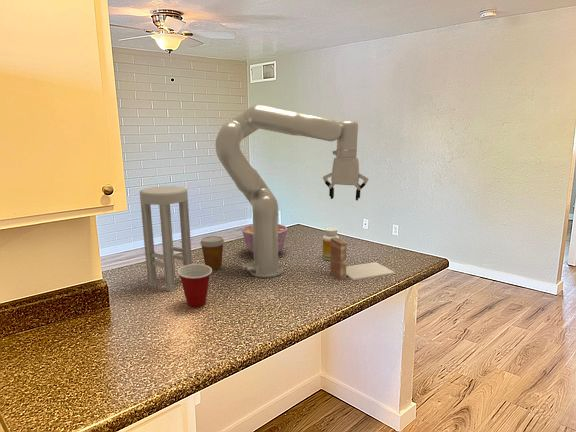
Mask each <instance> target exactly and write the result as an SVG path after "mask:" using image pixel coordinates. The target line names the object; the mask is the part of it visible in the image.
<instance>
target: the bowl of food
mask: <svg viewBox="0 0 576 432" xmlns="http://www.w3.org/2000/svg"><path fill="white" fill-rule="evenodd" d="M287 230H288V227H287V226H286V225H284V224H279V223H278V253H279V252H280V251H281V250H282V249H283V248H284V243H285V240H286V236H287ZM241 232H242V236H243V239H244V243H245V245H246V248H247V249H248V250H249V252H251V253H253V254H254V246H253V223H252V224H248V225H245V226H244V227H242V228H241Z"/></svg>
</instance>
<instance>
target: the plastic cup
mask: <svg viewBox="0 0 576 432" xmlns="http://www.w3.org/2000/svg"><path fill="white" fill-rule="evenodd" d="M212 273H213V270H212V268H211V267H209V266H207V265H205V264H201V263H192V264H190V265H185V266H183V265H182V266H181V267H179V268H178V270H177V274H178V276H179V278H180V282H181V284H182V289H183V293H184V297H185V300H186V303H187V307H189V308H201V307H204V306H205V305H206V302H207V296H208V290H209V282H210V277H211V274H212Z"/></svg>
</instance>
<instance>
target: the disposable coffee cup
mask: <svg viewBox="0 0 576 432" xmlns="http://www.w3.org/2000/svg"><path fill="white" fill-rule="evenodd" d="M199 244H200V247H201V249H202V256H203V260H204V265H207V266H209V267H211V268H212V271H215V270H219V269H220V270H221V268H222V265H223V263H222V262H223V252H224V244H225V240H224V237H222V236H219V235H211V236H205V237H202V238H201V240H200V242H199Z"/></svg>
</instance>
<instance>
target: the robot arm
mask: <svg viewBox="0 0 576 432" xmlns="http://www.w3.org/2000/svg"><path fill="white" fill-rule="evenodd" d="M259 129H260V130H265V131H269V132H274V133H280V134H285V135H290V136H297V137H307V138H312V139H317V140H321V141H327V142H336V149H335V150H332V155H334V156H335V157H334V158H333V163H332V169H331V172H330V173H328V174H325V175H323V176H322V179H323V182H324V184H325V185H326V186H327V188H328V190H329V192H328V193H329V194H328V195H329V196H328V197H330V200H332V199H334V198H335V187H334V186H335V185H340V186H355V188H356V190H355V201H359V199H361V190H362V189H363V188H364V187H365V186H367V183H368V181H369V177H366V176H365V175H363V174H361V173H360V162H359V158H357V152H358V133H359V132H358V131H359V124H358V122H357V121H355V120H354V121H353V120H340V121H336V120H334V119H329V118H325V117H319V116H316V115H310V114H307V113H306V114H305V113H302V112H299V111H295V110H291V109H290V110H289V109H286V108H279V107H275V106H271V105H265V104H261V103H257V104H253V105H252V106H250V107H248V108H247V109H245V110H244V111H243V112H241V113H239V114H238V115H236V116H235V117H234V118H232V119H230V120H227V121H226V122H225V123H223V124H222V126H221V127H220V129H219V131H218V134H217V136H216V139H215V152H216V156H217V159H218V160H219V162H220V164H221V165H222V167H223V168H224V169H225V171H226V173H227V175H228V176H229V177H230V178H231V179H232V181H233V183H234V184H235V186H236V188H237V189H238V190H239V192H241V193H242V195H244V197H245V198H246V200H247V201H248V202H249V204H250V205H251V208H252V209H251V211H252V224H253V246H254V253H253V260H251V262H250V263H249V264H242V265H241V269H242V271H245V270H246V272H249V273H250V275H251V276H253V277H255V278H263V279H268V278H276V277H279V276H280V275H281V274H283V268H282V266H280V265H279V252H278V224H279V203H278V200H277V198H276V196H275V195H274V194H273V192H272V190H271V189H270V188H269V187H268V185H267V184H266V182H265V180H264V179H263V178H262V177H261V175H260V174H259V172H258V170H257V169H255V168H253V166H252V165H251V164H250V163H249V161H248V160H247V157H246V156H245V155H244V153H243V152H242V150H241V147H240V144H241V141H242V140H244V139H245V138H247V137H248V136H251V135H252V134H253V133H255V132H257V131H258V130H259ZM330 177H331V178H330ZM328 178H330V179H331V182H330V181H329V179H328ZM360 179H361V180H362V181H363V182H362V183H361V184H360V183H359V181H360Z"/></svg>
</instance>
